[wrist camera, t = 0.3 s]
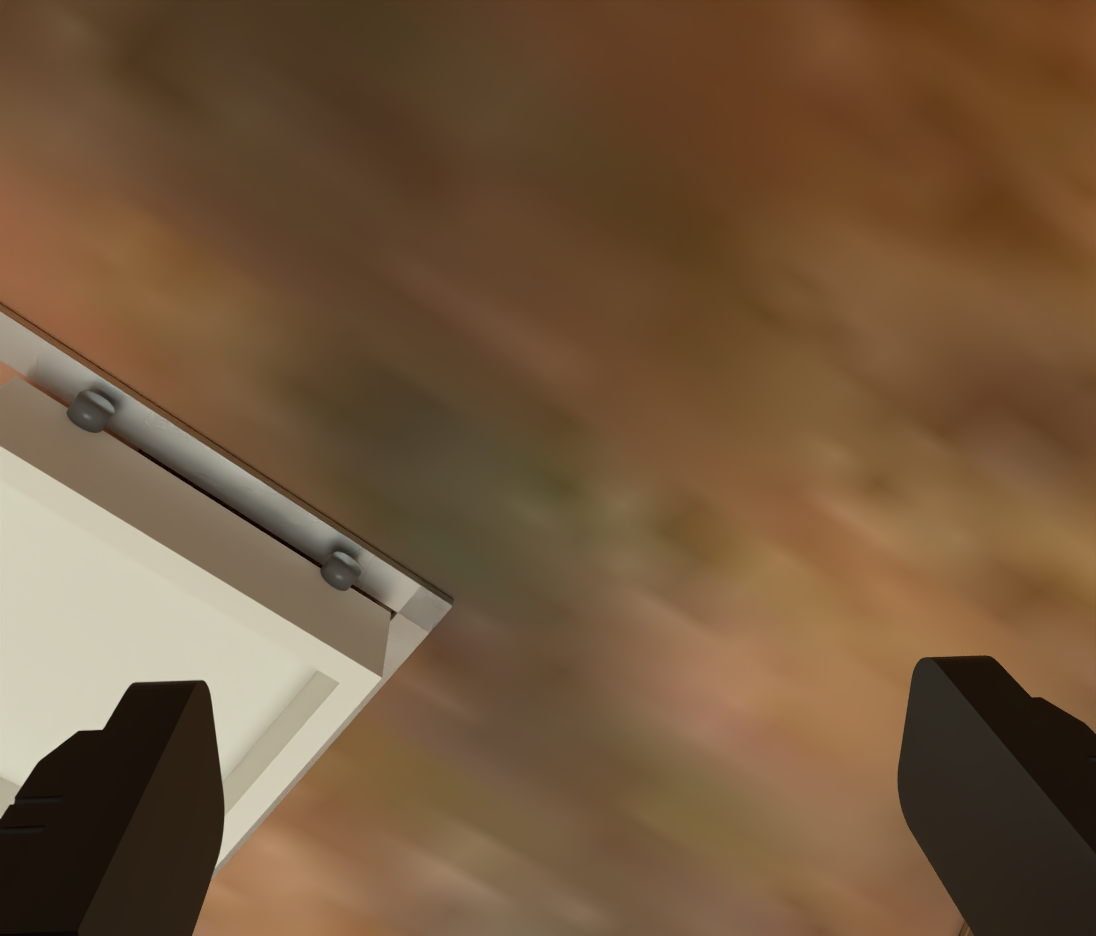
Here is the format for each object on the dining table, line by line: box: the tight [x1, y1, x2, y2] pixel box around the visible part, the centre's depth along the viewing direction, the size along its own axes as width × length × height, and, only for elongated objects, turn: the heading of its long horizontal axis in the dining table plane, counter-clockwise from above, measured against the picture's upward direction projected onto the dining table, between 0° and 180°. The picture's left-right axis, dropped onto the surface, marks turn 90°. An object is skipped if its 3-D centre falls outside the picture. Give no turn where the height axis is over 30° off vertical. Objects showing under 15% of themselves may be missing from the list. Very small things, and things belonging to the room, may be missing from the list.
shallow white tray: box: [0, 376, 391, 868], centre depth 28 cm, size 12×13×4 cm
